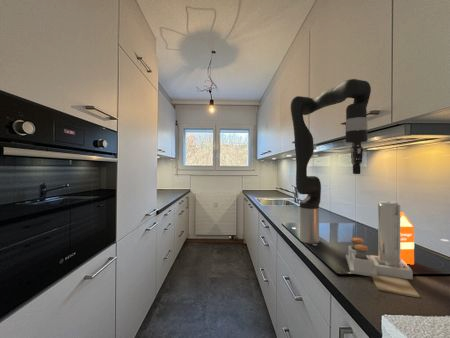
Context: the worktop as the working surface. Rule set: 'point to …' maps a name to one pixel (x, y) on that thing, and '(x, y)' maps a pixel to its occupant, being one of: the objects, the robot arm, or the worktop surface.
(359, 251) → the plunger
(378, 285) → the mat
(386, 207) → the silver metal cylinder
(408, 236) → the orange juice
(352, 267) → the housing
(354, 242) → the plunger
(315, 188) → the robot arm
